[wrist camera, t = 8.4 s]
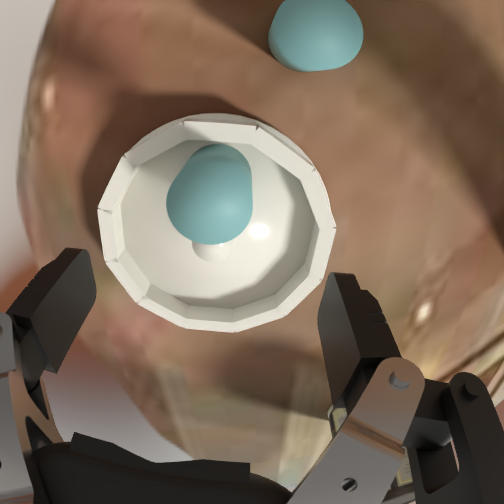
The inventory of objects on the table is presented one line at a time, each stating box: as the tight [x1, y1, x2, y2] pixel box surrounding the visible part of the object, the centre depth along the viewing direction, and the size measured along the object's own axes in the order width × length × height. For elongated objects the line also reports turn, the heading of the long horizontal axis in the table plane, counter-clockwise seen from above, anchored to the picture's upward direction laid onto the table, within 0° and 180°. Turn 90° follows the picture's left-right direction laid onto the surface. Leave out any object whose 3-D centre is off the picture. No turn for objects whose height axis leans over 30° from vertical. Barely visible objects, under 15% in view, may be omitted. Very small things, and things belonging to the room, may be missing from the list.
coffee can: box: [328, 404, 416, 504], centre depth 27 cm, size 10×10×14 cm
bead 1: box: [166, 144, 253, 245], centre depth 16 cm, size 4×4×4 cm
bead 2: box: [268, 0, 363, 72], centre depth 13 cm, size 4×4×4 cm
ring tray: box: [97, 113, 336, 333], centre depth 20 cm, size 15×15×2 cm
